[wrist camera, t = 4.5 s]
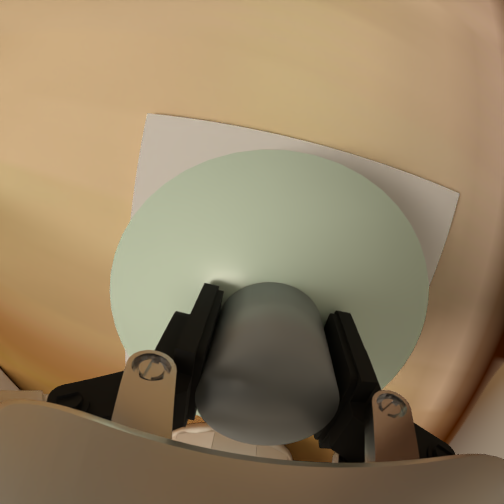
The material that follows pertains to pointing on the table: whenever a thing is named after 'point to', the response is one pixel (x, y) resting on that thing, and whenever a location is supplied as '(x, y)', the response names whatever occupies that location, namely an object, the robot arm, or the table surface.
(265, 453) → the bowl
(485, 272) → the table surface
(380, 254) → the lid
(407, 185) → the mat
